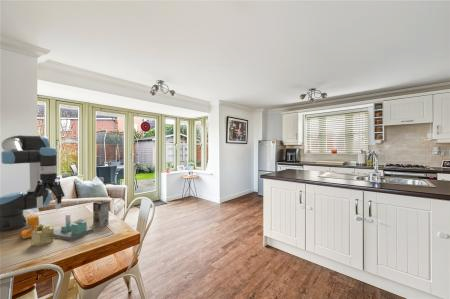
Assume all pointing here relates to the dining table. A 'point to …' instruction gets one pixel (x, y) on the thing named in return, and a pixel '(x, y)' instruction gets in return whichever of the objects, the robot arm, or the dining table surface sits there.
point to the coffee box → (100, 213)
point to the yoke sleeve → (42, 235)
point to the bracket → (31, 221)
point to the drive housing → (72, 229)
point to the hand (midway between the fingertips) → (48, 208)
